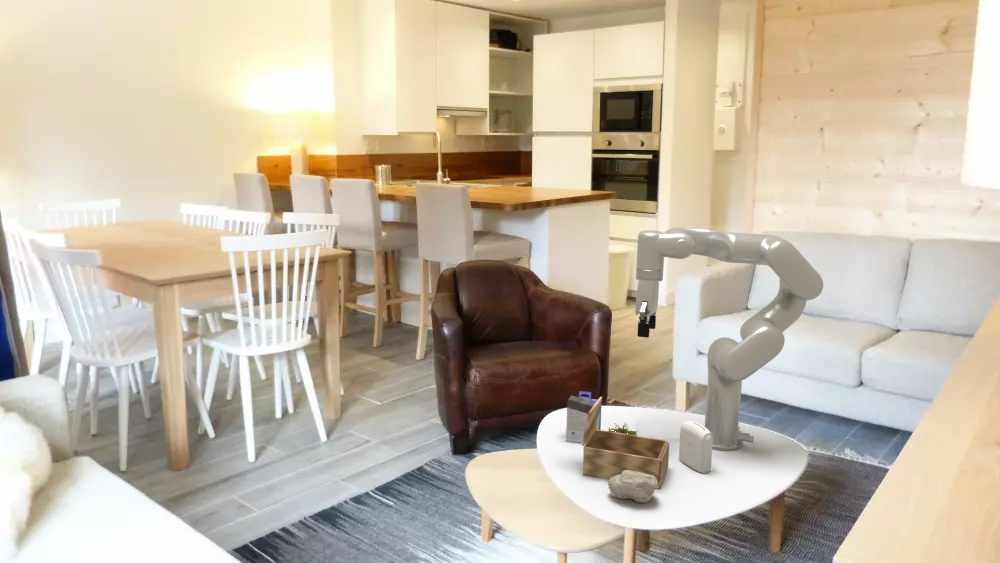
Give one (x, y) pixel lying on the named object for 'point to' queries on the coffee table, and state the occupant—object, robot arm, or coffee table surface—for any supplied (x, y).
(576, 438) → the ink cartridge box
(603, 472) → the open wooden box
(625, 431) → the lily flower
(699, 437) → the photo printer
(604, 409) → the coffee table surface
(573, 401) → the flap
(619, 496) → the fossil replica
